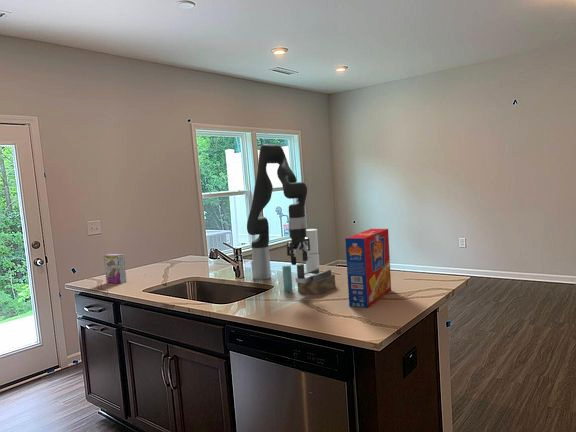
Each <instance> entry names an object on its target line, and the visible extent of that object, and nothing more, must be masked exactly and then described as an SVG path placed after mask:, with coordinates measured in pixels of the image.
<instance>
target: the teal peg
mask: <svg viewBox="0 0 576 432" xmlns="http://www.w3.org/2000/svg"><path fill="white" fill-rule="evenodd" d="M281 267H282V279H283V281H282V282H283V291H284V292H285V293H291V292H293V280H292V279H293V277H292V265H289V264H284V265H282V266H281Z"/></svg>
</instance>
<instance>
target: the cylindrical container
mask: <svg viewBox="0 0 576 432" xmlns="http://www.w3.org/2000/svg"><path fill="white" fill-rule="evenodd" d="M318 236H319V235H318V229H317V228H306V237H305V238H309V241H310V251H308V253H307V256H308V260H307V261H305V270H306V271H305V273H306V272H309V271H311V270H314V269H319V273H321V271H320V269H321V268H320V257H319V256H320V254H319V253H320V252H319V239H318V238H319V237H318ZM307 248H308V246H307Z"/></svg>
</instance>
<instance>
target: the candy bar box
mask: <svg viewBox="0 0 576 432" xmlns="http://www.w3.org/2000/svg"><path fill="white" fill-rule="evenodd" d="M124 255H125V254H124V253H121V254H119V253H108V254H104V255H103V263H104V268H105V269H104V270H105V271H104V272H105V280H106V283H107V284H116V285H117V284H118V285H120V284H124V283H127V273H126V264H125V262H126V261H125V256H124Z"/></svg>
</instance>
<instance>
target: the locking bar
mask: <svg viewBox="0 0 576 432" xmlns="http://www.w3.org/2000/svg"><path fill="white" fill-rule="evenodd" d="M296 272H297V277H295V283H297V282H298V283H306V282H309V281H311V280H313V275H316V274H311V273H307V274H305V275H304V273H305V265H304V263H301V264H300V263H297V264H296Z"/></svg>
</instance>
